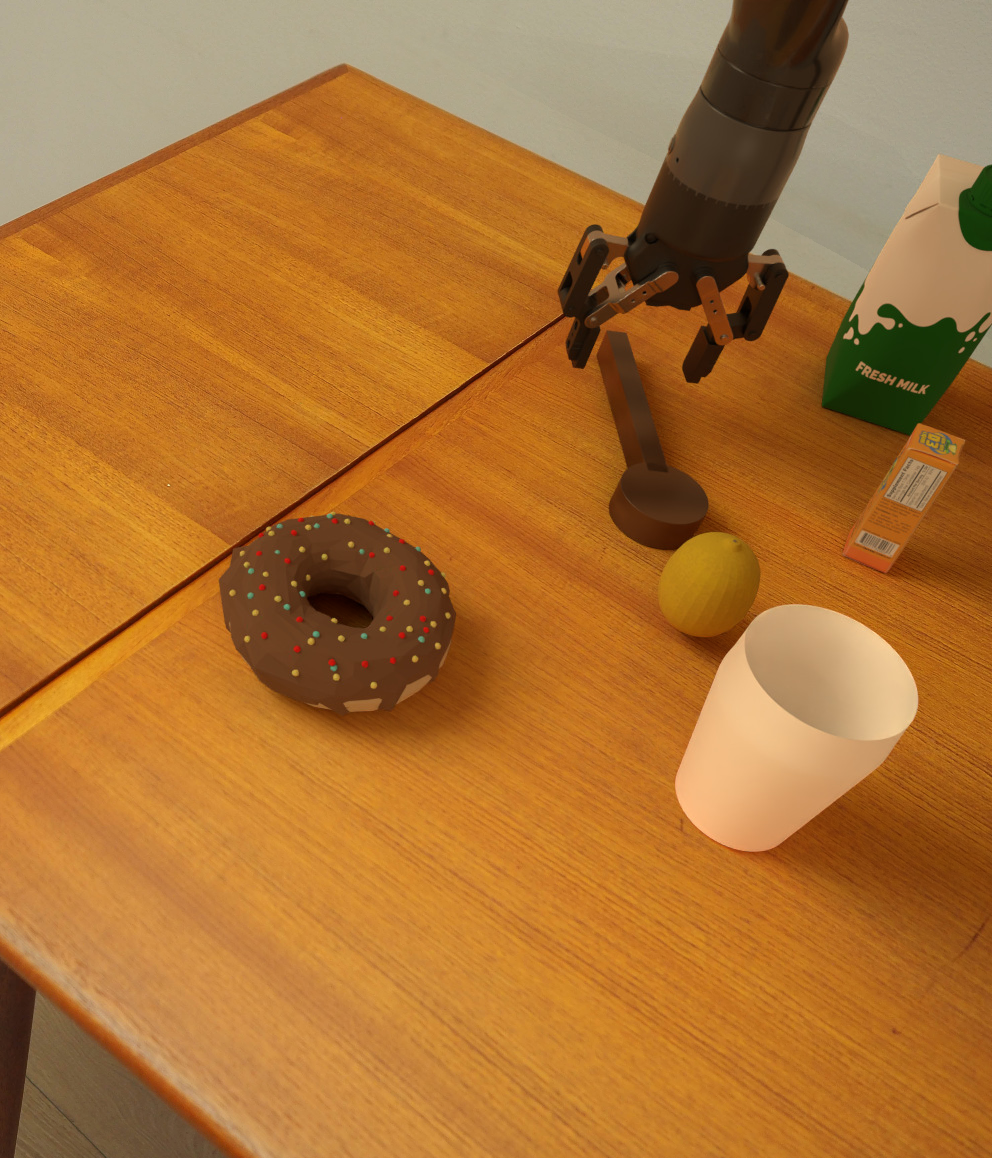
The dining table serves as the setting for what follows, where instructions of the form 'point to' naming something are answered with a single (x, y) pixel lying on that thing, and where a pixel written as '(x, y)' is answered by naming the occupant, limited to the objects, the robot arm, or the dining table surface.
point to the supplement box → (903, 498)
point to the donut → (316, 641)
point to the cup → (792, 725)
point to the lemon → (709, 584)
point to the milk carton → (918, 303)
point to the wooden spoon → (645, 460)
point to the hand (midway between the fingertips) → (632, 369)
